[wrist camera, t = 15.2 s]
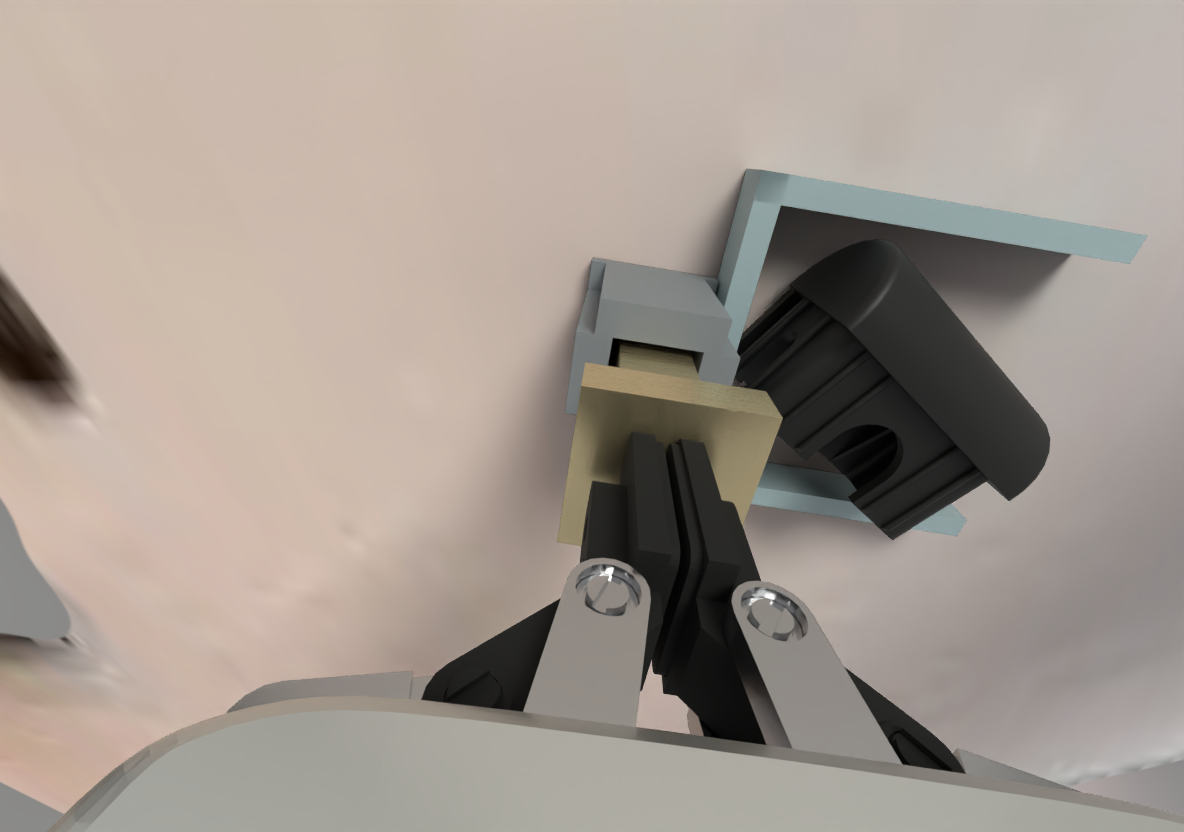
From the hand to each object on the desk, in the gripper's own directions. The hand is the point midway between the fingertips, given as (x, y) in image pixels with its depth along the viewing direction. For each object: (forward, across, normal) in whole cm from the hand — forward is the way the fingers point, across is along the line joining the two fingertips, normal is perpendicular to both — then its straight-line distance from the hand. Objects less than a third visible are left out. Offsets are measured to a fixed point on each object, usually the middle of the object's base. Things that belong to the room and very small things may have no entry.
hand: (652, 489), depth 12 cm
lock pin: (+10, 0, 0) cm, 10 cm away
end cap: (+13, -10, 0) cm, 16 cm away
